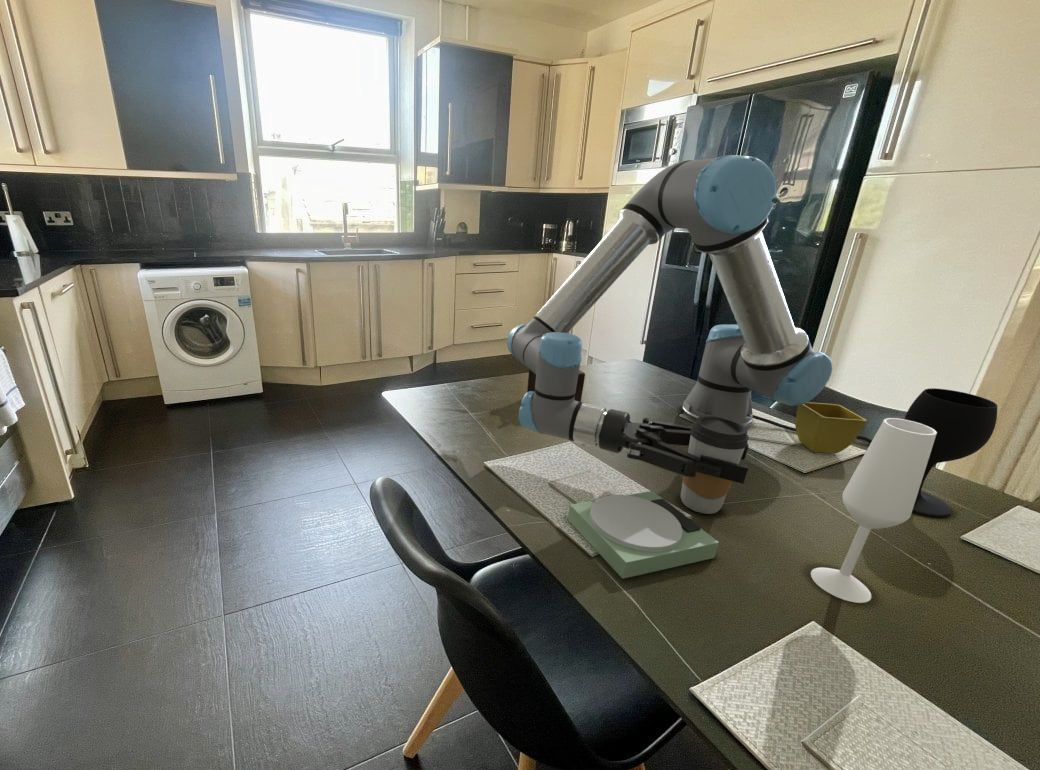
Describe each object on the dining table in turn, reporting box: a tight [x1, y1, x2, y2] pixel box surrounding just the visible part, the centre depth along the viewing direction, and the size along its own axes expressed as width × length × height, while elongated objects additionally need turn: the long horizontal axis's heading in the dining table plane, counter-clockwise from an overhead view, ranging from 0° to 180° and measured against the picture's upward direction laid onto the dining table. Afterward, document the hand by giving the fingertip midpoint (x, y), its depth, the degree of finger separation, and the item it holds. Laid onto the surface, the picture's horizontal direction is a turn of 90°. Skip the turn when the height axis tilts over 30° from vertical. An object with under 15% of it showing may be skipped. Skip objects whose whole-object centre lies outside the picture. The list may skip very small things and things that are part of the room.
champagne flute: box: [810, 417, 937, 604], centre depth 62 cm, size 7×7×24 cm
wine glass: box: [904, 387, 998, 518], centre depth 83 cm, size 10×10×20 cm
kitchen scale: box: [567, 490, 720, 580], centre depth 74 cm, size 16×14×4 cm
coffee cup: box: [680, 416, 750, 515], centre depth 81 cm, size 8×8×15 cm
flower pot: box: [794, 401, 868, 454], centre depth 104 cm, size 9×9×9 cm
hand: (746, 463), depth 78 cm, fingers closed on coffee cup, 8 cm apart
